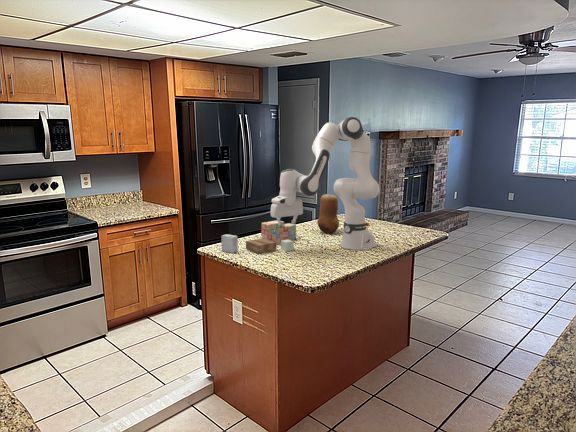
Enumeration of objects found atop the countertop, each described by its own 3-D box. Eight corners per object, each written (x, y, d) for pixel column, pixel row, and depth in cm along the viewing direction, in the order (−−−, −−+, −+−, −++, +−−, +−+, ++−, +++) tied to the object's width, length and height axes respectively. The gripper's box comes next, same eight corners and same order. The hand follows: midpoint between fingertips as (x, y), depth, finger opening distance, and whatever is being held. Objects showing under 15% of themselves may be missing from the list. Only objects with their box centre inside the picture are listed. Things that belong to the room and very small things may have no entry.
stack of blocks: (289, 237, 259) (289, 218, 256) (296, 239, 254) (296, 219, 251) (261, 243, 245) (261, 222, 243) (267, 245, 240) (267, 224, 238)
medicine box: (238, 251, 227) (238, 235, 226) (233, 253, 224) (232, 237, 222) (226, 249, 231) (226, 233, 230) (221, 251, 228) (221, 235, 226)
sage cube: (287, 248, 236) (288, 239, 235) (293, 250, 232) (293, 241, 231) (280, 249, 232) (280, 240, 232) (286, 251, 229) (286, 242, 228)
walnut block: (264, 246, 239) (264, 237, 238) (276, 251, 230) (276, 242, 229) (245, 249, 232) (245, 241, 231) (257, 254, 223) (257, 245, 222)
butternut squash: (339, 231, 277) (341, 193, 272) (337, 235, 264) (338, 196, 259) (319, 229, 280) (320, 192, 275) (315, 234, 267) (316, 195, 262)
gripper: (298, 197, 236) (297, 221, 238) (269, 199, 223) (268, 225, 225) (305, 198, 231) (305, 223, 233) (276, 201, 218) (275, 227, 221)
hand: (286, 224), depth 229 cm, fingers open, 8 cm apart
